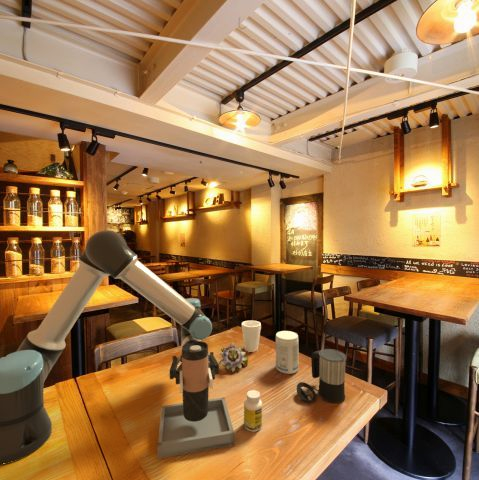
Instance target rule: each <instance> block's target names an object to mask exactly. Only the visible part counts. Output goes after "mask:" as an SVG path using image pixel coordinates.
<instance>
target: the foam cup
mask: <svg viewBox="0 0 479 480" xmlns="http://www.w3.org/2000/svg"><path fill="white" fill-rule="evenodd" d="M241 330H242V337H243V338H242V339H243V346H244V351H245V350H246V351H251V352H252V351H256V350H257V349H259V344H260V343H259V342H260V336H261V330H262V324H261V322H260V321H257V320H245V321H242V322H241ZM246 351H245V352H246ZM257 351H258V350H257Z"/></svg>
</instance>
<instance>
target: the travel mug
mask: <svg viewBox="0 0 479 480" xmlns="http://www.w3.org/2000/svg"><path fill="white" fill-rule="evenodd" d="M208 354H209V345H208V343H207V342H204V341H202V340H201V341H194V342H193V343H191V344H184V345H183V347H182V346H181V355H182V362H181V363H182V376H183V393H182V403H183V414H184V418H185V419H186V420H188V421H192V422H196V421H200V420H202V419H204V418H205V417H206V416H207V414H208V400H209V389H210V387H209V381H208V362H209V361H208Z"/></svg>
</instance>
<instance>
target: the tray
mask: <svg viewBox="0 0 479 480" xmlns="http://www.w3.org/2000/svg"><path fill="white" fill-rule="evenodd" d="M160 410H161V411H160V419H159V421H160V422H159V429H158V430H159V431H158V439H157V440H158V441H157V460H159V459H165V458H170V457H177V456H180V455H187V454H194V453H197V452H204V451H209V450H214V449H220V448H226V447H233V446H235V431H234V427H233V423H232V420H231V415H230V412H229V408H228V406H227V402H226V398H225V397H217V398H210V399H209V398H208V414H207V416H206V417H205V418H204V419H202V420H200V421H196V422H192V421H188V420H186V419H185V418H184V414H183V402H182V403H174V404H173V403H172V404H166V405H161V409H160Z"/></svg>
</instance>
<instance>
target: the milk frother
mask: <svg viewBox="0 0 479 480" xmlns="http://www.w3.org/2000/svg"><path fill="white" fill-rule="evenodd" d="M346 360H347V355H346V354H345V353H344V352H342V351H340V350H337V349H333V348H332V349H331V348H325V349H321V350H317V351H313V352H312V353H311V376H312V378H313V379H318V378H319V381H318V389H316V388H315V387H314V386H313V385H310V384H309V383H306V382H302V381H301V382H300V381H299V383H297V385H296V394H297V395H298V397H299V398H300V399H301V400H303V401H304V402H306V403H313V402H315V401H316V399H317V394H318V396H319V397H320V398H321V399H322V400H324V401H327V402H330V403H333V404H334V403H336V404H338V403H342V402H344V401H345V400H346V394H345V391H346V390H345V381H346V380H345V379H346V377H345V376H346ZM303 388H306V389H308V390H309V391H310V392H311V394H312V397H310V393H308V391H306V390H305V389H303ZM316 392H317V393H316Z"/></svg>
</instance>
